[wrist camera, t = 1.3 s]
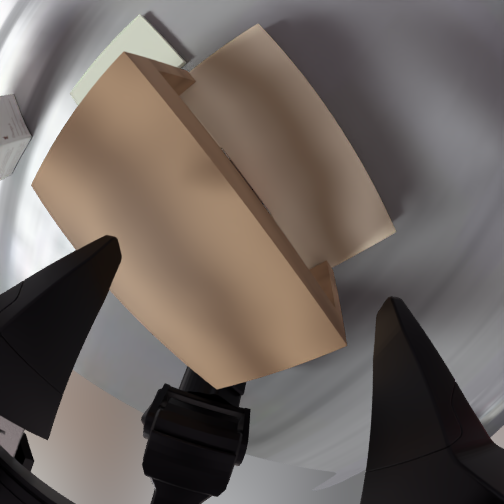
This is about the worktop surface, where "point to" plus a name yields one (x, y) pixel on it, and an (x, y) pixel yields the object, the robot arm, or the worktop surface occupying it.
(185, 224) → the brown wooden u-shape
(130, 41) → the tile
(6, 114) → the supplement box
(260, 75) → the board
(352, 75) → the worktop surface
